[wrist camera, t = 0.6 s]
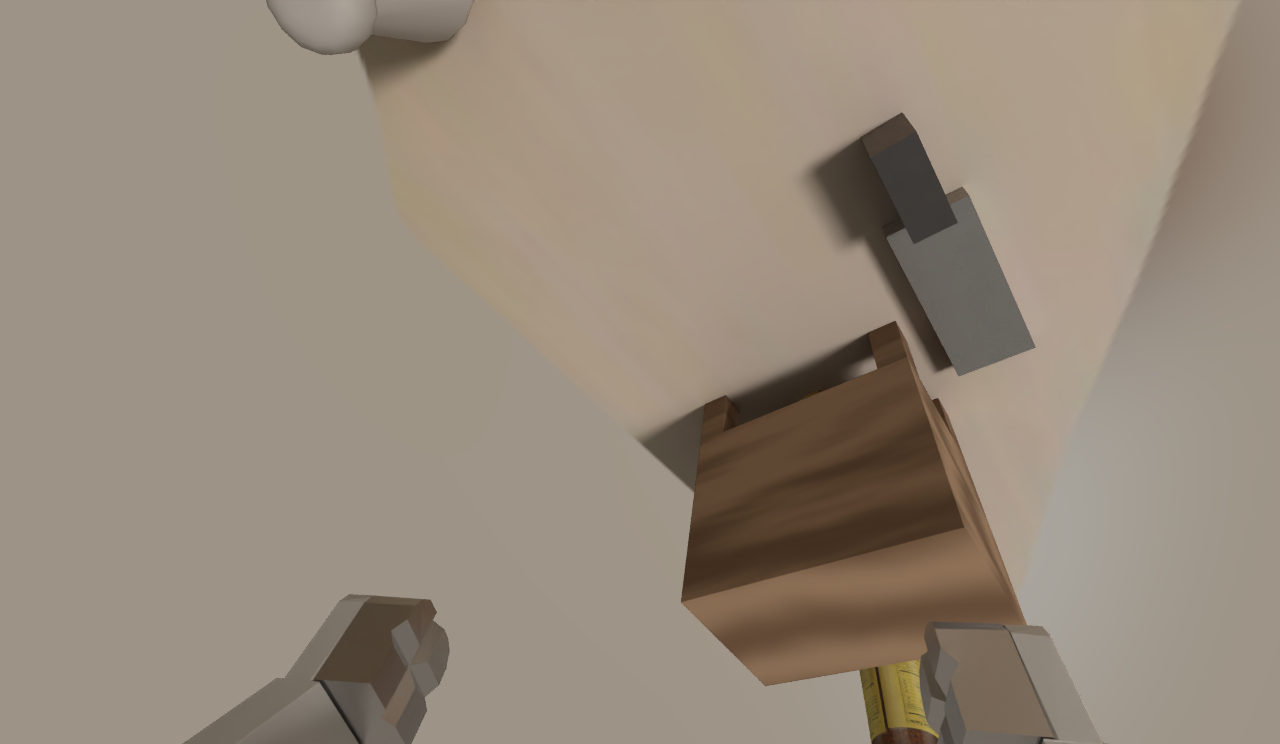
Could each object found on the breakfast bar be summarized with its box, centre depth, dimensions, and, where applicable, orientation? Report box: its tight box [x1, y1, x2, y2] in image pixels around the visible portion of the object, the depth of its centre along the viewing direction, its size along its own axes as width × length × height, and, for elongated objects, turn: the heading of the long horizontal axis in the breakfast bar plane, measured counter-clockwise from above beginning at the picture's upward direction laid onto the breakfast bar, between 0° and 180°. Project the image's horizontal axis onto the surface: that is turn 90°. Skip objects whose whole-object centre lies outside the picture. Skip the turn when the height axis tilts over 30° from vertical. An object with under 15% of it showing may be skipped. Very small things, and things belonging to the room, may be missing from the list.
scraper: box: [861, 113, 1035, 376], centre depth 38 cm, size 18×5×4 cm, turn 36°
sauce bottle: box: [860, 659, 939, 744], centre depth 58 cm, size 7×6×20 cm
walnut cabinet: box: [681, 321, 1027, 686], centre depth 41 cm, size 11×16×18 cm
